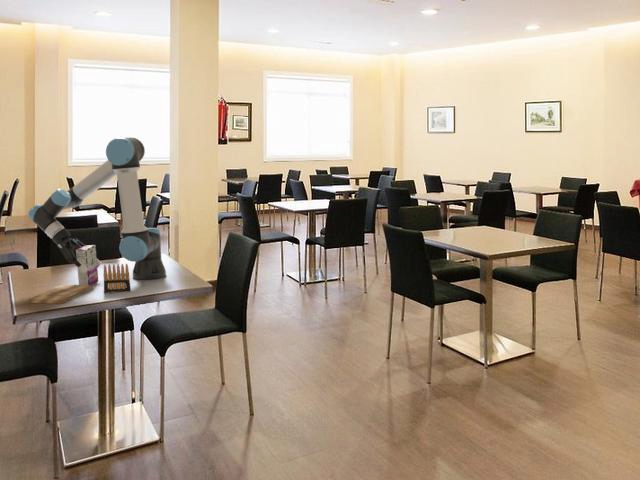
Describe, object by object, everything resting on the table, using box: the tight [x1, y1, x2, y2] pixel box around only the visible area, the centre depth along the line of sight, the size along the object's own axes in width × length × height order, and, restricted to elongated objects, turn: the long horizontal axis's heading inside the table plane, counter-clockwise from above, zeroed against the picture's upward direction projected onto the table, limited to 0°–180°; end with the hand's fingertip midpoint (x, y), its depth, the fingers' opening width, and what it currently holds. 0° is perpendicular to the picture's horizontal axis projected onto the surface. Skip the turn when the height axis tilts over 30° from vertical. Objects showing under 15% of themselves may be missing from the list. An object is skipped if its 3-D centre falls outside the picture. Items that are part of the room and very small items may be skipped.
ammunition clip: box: [103, 263, 132, 293], centre depth 257 cm, size 11×2×12 cm, turn 100°
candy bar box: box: [75, 244, 99, 285], centre depth 272 cm, size 11×5×16 cm, turn 179°
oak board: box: [28, 284, 93, 305], centre depth 252 cm, size 14×24×2 cm, turn 173°
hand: (93, 268), depth 272 cm, fingers closed on candy bar box, 11 cm apart
